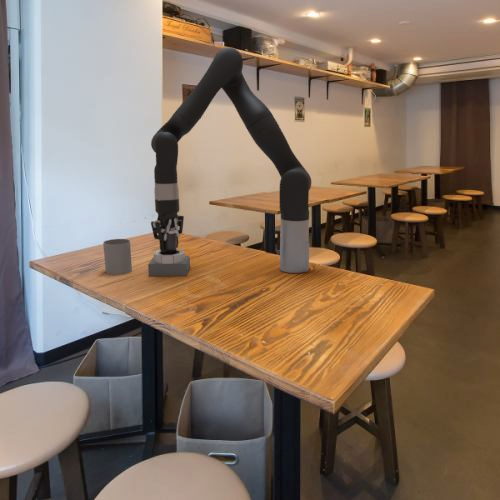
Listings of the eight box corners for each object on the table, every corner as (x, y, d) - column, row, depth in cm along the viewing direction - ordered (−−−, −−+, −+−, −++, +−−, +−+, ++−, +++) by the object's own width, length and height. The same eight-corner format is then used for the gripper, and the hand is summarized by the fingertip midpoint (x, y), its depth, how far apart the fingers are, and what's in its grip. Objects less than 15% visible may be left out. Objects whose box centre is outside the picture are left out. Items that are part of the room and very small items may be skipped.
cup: (124, 275, 138) (122, 245, 135) (100, 274, 139) (98, 244, 137) (136, 268, 146) (134, 239, 143) (113, 266, 147) (111, 238, 145)
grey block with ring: (189, 266, 147) (189, 248, 146) (186, 275, 138) (186, 256, 136) (154, 267, 147) (153, 248, 145) (148, 276, 137) (147, 256, 136)
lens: (168, 253, 145) (168, 227, 142) (179, 256, 142) (180, 229, 140) (157, 256, 140) (157, 229, 138) (169, 259, 138) (169, 232, 135)
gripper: (171, 194, 144) (174, 243, 148) (142, 199, 132) (145, 253, 136) (190, 195, 141) (191, 246, 145) (161, 200, 128) (164, 256, 133)
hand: (169, 249), depth 140 cm, fingers closed on lens, 5 cm apart
